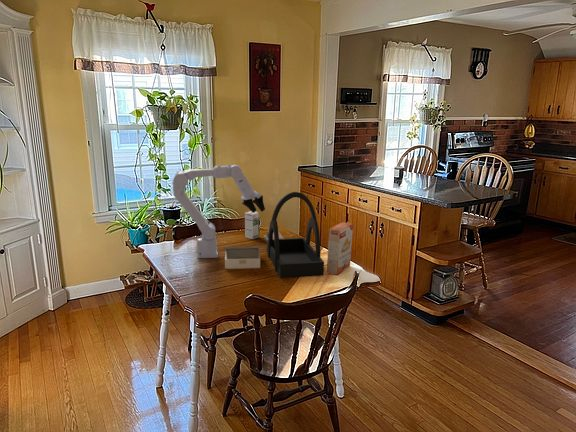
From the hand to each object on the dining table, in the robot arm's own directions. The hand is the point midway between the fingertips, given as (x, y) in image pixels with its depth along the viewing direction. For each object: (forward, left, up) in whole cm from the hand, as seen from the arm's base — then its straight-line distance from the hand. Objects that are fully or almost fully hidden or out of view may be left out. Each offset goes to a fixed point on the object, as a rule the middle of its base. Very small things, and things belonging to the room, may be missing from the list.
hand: (259, 211), depth 212 cm
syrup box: (-2, +27, -22) cm, 35 cm away
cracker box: (+36, -23, -22) cm, 48 cm away
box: (-8, -12, -22) cm, 27 cm away
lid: (-8, -12, -15) cm, 21 cm away
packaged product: (+10, +19, -23) cm, 31 cm away
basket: (+16, -13, -22) cm, 30 cm away
